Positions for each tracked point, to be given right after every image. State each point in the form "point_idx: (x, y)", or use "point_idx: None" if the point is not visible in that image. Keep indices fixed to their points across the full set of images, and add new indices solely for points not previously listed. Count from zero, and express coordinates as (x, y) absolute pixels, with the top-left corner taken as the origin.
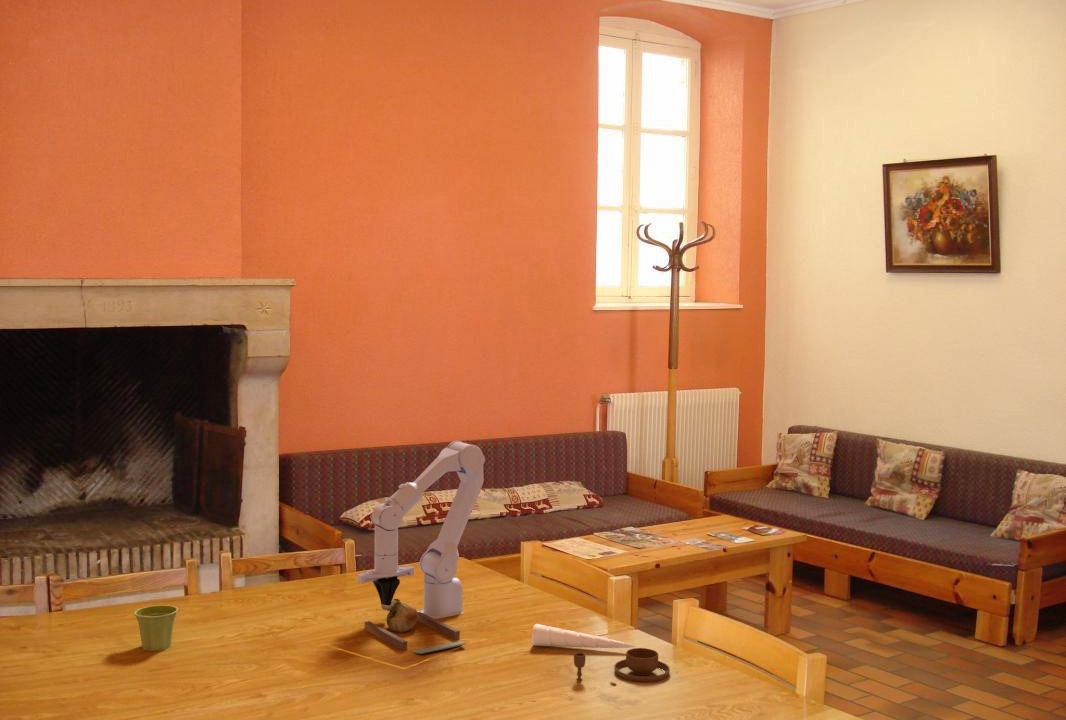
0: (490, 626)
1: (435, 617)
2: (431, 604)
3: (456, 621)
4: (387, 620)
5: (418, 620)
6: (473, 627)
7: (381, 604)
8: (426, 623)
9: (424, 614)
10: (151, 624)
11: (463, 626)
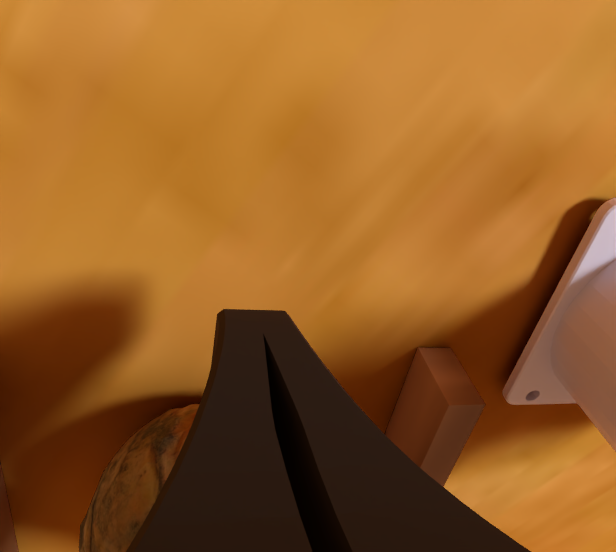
0: (583, 533)
1: (540, 392)
2: (607, 433)
3: (578, 432)
4: (83, 531)
5: (414, 398)
6: (533, 521)
7: (217, 332)
8: None
9: (450, 462)
10: None
11: (521, 498)
